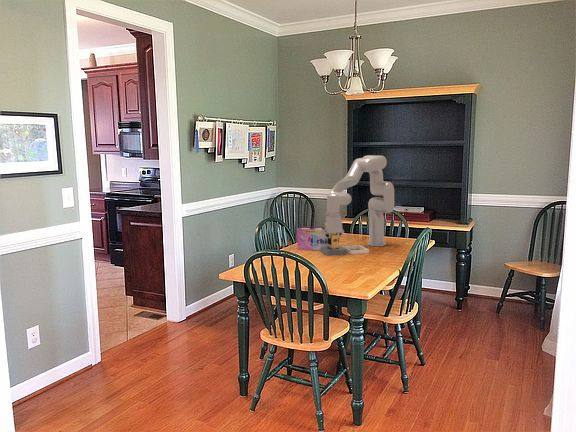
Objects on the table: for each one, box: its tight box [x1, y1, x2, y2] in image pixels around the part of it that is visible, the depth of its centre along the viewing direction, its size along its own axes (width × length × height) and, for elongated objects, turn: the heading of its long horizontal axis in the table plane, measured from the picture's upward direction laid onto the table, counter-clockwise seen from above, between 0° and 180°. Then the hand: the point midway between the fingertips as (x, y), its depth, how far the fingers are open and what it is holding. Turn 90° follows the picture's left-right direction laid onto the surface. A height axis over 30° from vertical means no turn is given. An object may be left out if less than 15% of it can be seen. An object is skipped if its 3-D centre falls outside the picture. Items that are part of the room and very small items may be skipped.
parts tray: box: [341, 244, 370, 255], centre depth 313 cm, size 14×12×3 cm
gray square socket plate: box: [320, 245, 347, 257], centre depth 308 cm, size 12×12×4 cm
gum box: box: [296, 226, 336, 251], centre depth 319 cm, size 24×8×14 cm, turn 68°
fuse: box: [329, 233, 339, 250], centre depth 307 cm, size 4×6×10 cm, turn 16°
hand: (333, 243), depth 307 cm, fingers closed on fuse, 4 cm apart
